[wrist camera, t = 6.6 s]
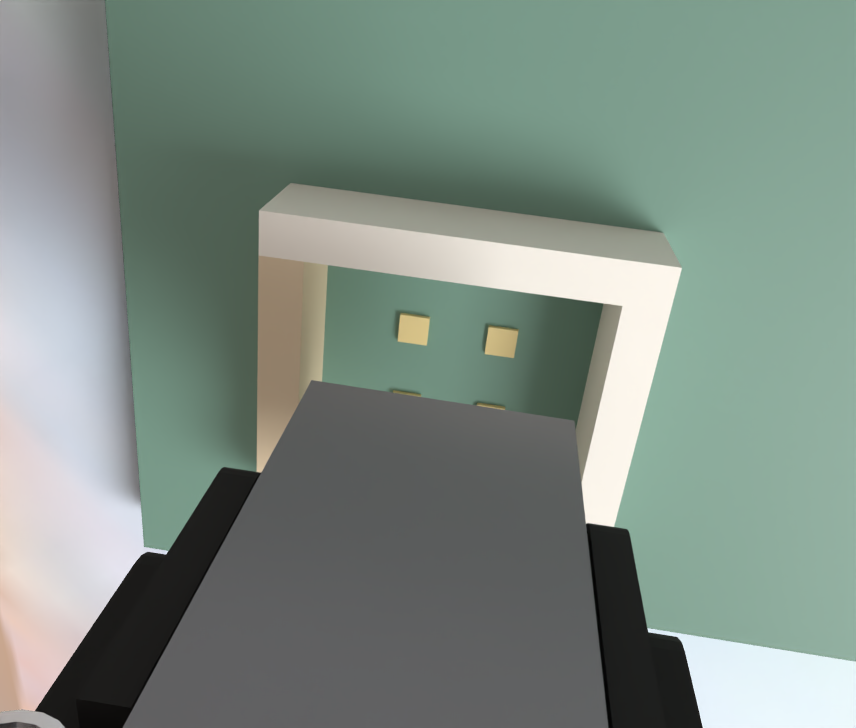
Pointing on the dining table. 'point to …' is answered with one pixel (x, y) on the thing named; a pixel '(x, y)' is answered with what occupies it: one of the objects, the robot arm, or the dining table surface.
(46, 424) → the dining table surface
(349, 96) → the board
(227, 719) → the plug
